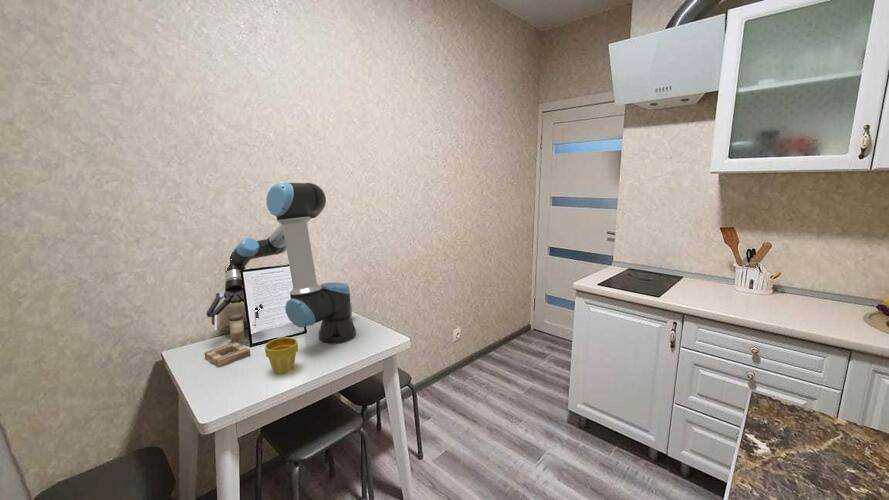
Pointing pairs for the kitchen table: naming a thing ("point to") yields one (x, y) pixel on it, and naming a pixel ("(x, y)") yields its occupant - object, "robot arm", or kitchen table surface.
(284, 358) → the plant pot
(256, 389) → the kitchen table surface
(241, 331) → the mill
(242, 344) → the coaster
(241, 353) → the pocket block
